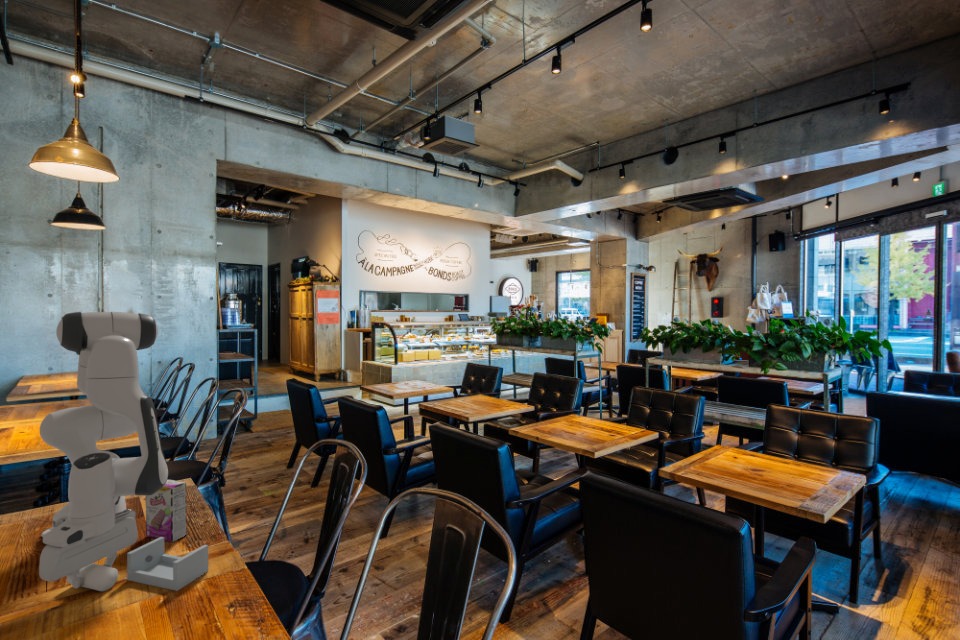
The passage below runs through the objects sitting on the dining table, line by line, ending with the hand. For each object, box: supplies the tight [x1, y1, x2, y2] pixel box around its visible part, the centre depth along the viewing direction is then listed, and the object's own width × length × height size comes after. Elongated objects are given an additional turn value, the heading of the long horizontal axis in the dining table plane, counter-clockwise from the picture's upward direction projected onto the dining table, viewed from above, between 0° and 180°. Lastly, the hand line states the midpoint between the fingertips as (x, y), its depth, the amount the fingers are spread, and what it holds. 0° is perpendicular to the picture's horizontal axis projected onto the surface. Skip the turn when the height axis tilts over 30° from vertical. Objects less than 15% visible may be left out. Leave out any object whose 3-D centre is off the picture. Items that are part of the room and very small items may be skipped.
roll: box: [66, 563, 119, 592], centre depth 115 cm, size 10×5×5 cm, turn 73°
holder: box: [126, 537, 209, 592], centre depth 119 cm, size 16×9×7 cm, turn 74°
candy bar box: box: [145, 478, 188, 543], centre depth 140 cm, size 11×5×16 cm, turn 71°
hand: (92, 579), depth 115 cm, fingers closed on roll, 5 cm apart
